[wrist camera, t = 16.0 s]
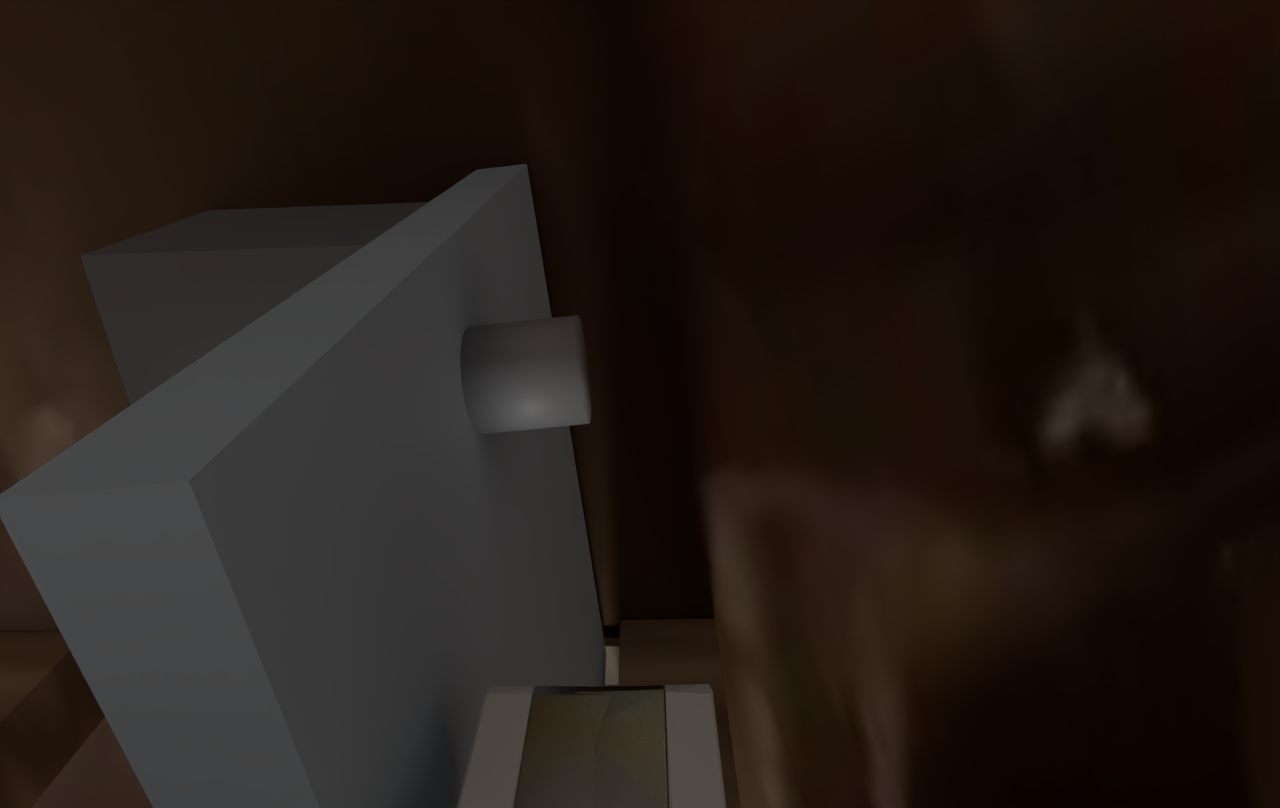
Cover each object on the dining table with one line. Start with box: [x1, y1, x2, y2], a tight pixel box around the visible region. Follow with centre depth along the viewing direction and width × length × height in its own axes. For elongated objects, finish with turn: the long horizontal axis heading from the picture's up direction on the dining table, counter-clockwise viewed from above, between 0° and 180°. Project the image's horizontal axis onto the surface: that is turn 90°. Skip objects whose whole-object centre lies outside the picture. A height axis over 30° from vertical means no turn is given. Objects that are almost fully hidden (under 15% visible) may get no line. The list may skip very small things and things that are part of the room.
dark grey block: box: [80, 202, 428, 405], centre depth 18 cm, size 4×7×5 cm, turn 92°
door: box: [0, 164, 606, 808], centre depth 15 cm, size 3×16×15 cm, turn 6°
